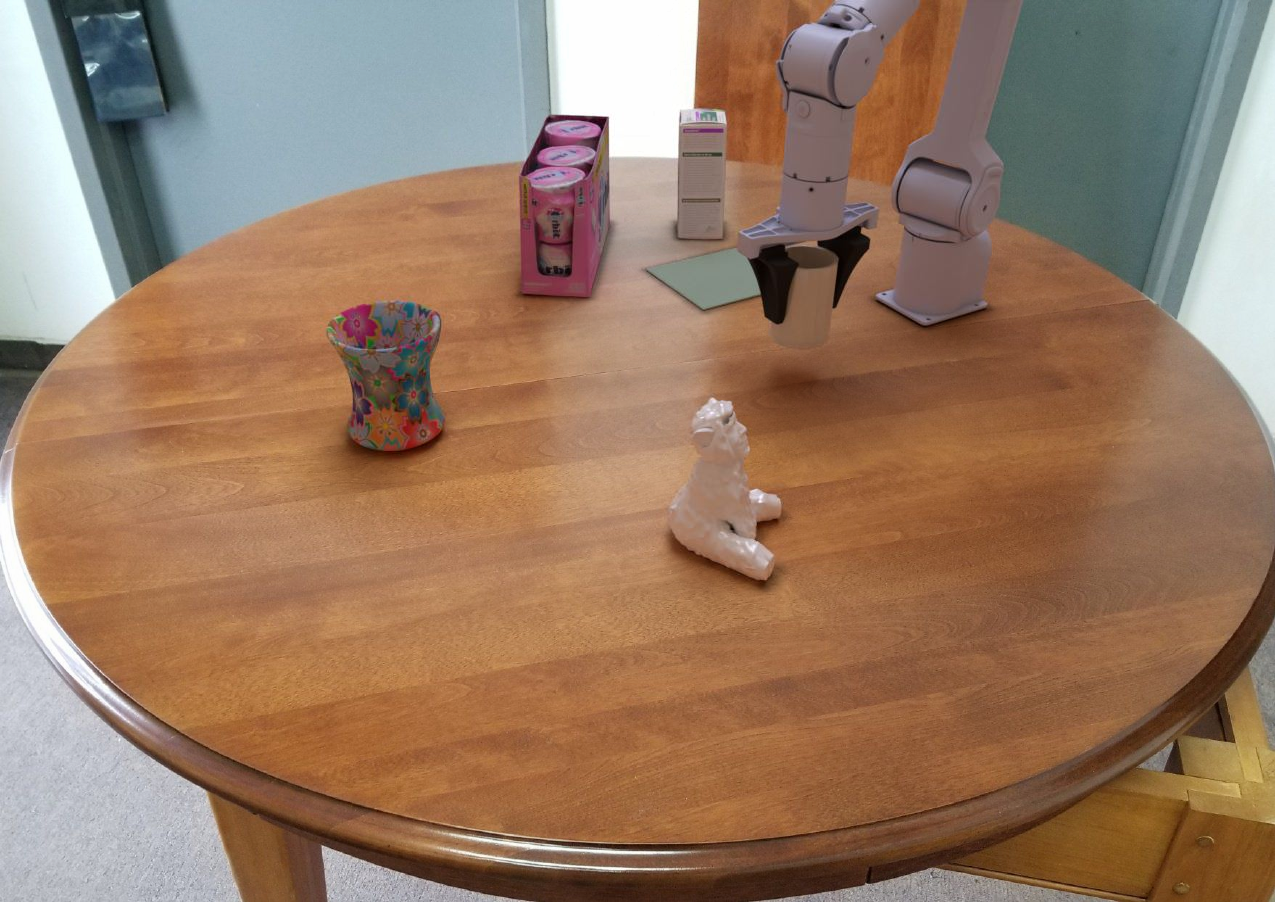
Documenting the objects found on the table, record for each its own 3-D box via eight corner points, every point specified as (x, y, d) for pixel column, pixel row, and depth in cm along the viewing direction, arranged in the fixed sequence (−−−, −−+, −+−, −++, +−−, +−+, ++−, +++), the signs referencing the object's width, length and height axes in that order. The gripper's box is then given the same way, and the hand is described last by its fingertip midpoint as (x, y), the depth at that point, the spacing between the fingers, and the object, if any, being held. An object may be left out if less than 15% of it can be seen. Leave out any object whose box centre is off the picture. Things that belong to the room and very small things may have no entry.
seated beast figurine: (772, 587, 78) (787, 451, 72) (656, 573, 80) (660, 437, 73) (781, 511, 86) (794, 381, 80) (675, 499, 87) (679, 370, 81)
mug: (407, 471, 90) (393, 360, 84) (321, 443, 94) (302, 334, 88) (487, 406, 99) (479, 301, 93) (406, 382, 103) (393, 280, 97)
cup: (803, 316, 106) (811, 239, 101) (841, 340, 102) (851, 261, 97) (755, 329, 103) (761, 252, 99) (792, 355, 99) (800, 275, 95)
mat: (744, 247, 131) (744, 245, 131) (805, 283, 122) (805, 281, 122) (646, 270, 125) (646, 268, 125) (703, 310, 116) (703, 308, 116)
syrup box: (723, 240, 132) (730, 122, 124) (675, 239, 132) (679, 121, 124) (721, 222, 137) (727, 108, 129) (675, 221, 137) (678, 107, 129)
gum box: (590, 304, 117) (588, 183, 110) (518, 301, 118) (511, 180, 110) (610, 222, 137) (610, 115, 129) (549, 219, 137) (545, 112, 130)
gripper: (850, 145, 99) (833, 280, 107) (721, 171, 93) (713, 312, 101) (902, 167, 94) (881, 307, 102) (769, 197, 88) (757, 343, 96)
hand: (801, 312), depth 101 cm, fingers closed on cup, 6 cm apart
